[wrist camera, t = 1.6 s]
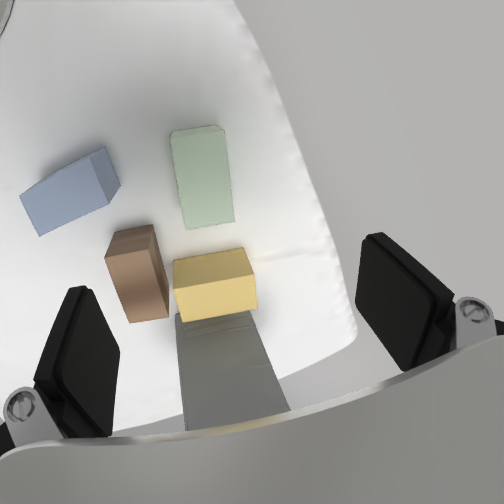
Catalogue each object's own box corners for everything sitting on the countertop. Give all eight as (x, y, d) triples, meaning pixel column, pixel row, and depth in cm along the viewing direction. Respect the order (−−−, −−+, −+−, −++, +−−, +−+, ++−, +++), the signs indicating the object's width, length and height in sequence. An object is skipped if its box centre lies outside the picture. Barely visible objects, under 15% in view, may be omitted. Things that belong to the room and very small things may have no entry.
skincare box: (187, 350, 35) (201, 469, 22) (172, 306, 32) (179, 440, 18) (255, 337, 37) (293, 451, 23) (249, 292, 33) (294, 417, 19)
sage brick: (172, 131, 24) (169, 139, 19) (216, 124, 24) (224, 130, 20) (184, 207, 27) (185, 230, 23) (225, 200, 28) (235, 221, 23)
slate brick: (58, 213, 24) (39, 237, 20) (42, 178, 22) (19, 196, 18) (120, 185, 25) (108, 204, 20) (105, 146, 23) (89, 157, 18)
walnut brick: (115, 231, 27) (104, 257, 22) (153, 224, 27) (148, 249, 23) (134, 291, 30) (129, 323, 26) (169, 285, 31) (168, 317, 26)
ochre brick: (181, 290, 31) (182, 322, 27) (173, 259, 29) (173, 289, 25) (246, 278, 32) (257, 308, 28) (243, 247, 30) (254, 274, 26)
